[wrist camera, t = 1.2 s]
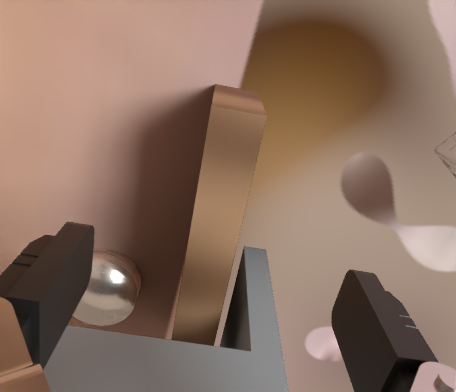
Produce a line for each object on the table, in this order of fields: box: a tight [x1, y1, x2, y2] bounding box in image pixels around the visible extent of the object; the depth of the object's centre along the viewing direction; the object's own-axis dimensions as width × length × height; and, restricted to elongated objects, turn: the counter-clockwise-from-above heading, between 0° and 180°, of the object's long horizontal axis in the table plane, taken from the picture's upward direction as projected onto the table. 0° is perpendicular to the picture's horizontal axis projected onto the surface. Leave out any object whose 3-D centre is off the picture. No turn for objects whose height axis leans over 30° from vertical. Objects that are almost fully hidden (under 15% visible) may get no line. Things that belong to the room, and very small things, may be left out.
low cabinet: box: [43, 246, 289, 392], centre depth 21 cm, size 10×18×15 cm, turn 79°
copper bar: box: [172, 84, 267, 346], centre depth 23 cm, size 18×2×6 cm, turn 169°
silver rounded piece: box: [72, 249, 141, 326], centre depth 26 cm, size 5×5×2 cm
